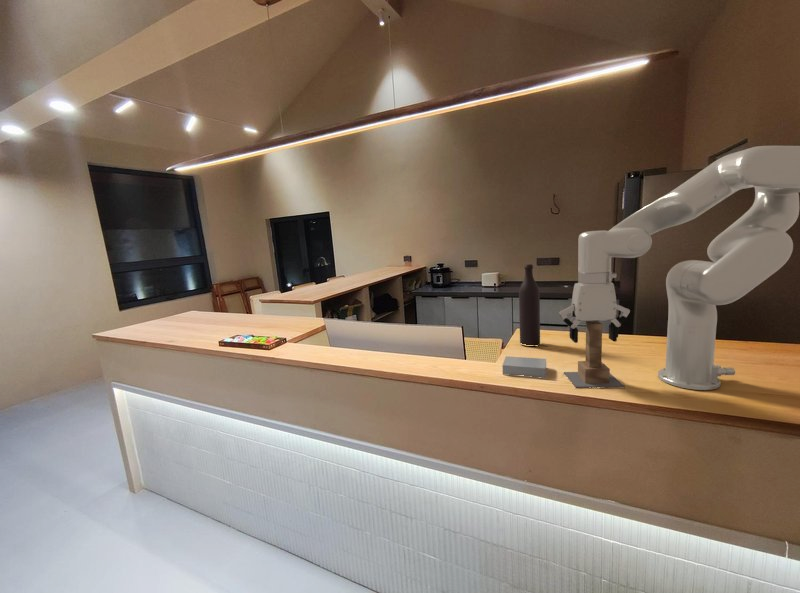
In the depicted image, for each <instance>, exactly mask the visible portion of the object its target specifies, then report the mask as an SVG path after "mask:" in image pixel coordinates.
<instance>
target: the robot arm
mask: <svg viewBox="0 0 800 593" xmlns="http://www.w3.org/2000/svg"><path fill="white" fill-rule="evenodd" d="M751 188H754V192H755V193H754V194H755V195H754V201H753V203H752V205H751V207H749V209H748V210H747V211H746V212H744V214H742V215H741V216H740V217H739V218H737V220H736V221H734V222H733V223H732V224H730V225H729V226H728V227H727V228H726V229H724V230H723V231H722V232H720V233H719V234H718V235H717V236H716V237H714V239H712V240H711V242H710V243H709V245H708V246H707V249H706V250H707V251H706V253H707V256H708V258H709V259H710V261H705V260H696V259H691V260H690V259H689V260H684V261H680V262H678V263H677V264H675V265H674V266H672V267H671V268H670V270H669V271H668V272H667V276H666V278H665V287H666V295H667V300H668V313H667V314H668V315H667V316H668V317H667V318H668V320H667V331H666V332H667V335H666V353H665V368H661V369H659V370H657V371H658V372H657V375H658V376H657V377H658V378H659V379H660V380H661V381H662V382H664V383H667V384H669V385H671V386H675V387H678V388H683V389H687V390H698V391H712V390H716V389H718V388H720V387H721V380H720V378H719V377H721V376H735V375H736V369H735V368H734V367H722V366H721V365H720V364H714V362H715V352H716V351H715V348H716V337H717V336H716V335H717V325H718V324H717V323H718V311H717V309H718V308H717V306H723V305H728V304H732V303H734V302H736V301H737V300H739V299H741V298H742V297H744V296H746V295H747V294H748V293H749V292H751V291H753V290H754V288H756V287H758V286H759V285H760V284H761V283H763V282H765V280H768V278H769V277H771V276H772V275H774V274H775V273H776V272H778V271H779V270H780V269H781V268H782V267H783V266H784V265H785V264H786V263H787V262H788V261H789V259H790V258H791V256H792V253H793V250H794V243H793V242H794V241H793V240H792V237H791V236H790V235H789V234H788V233H787V231H788V230H789V229H791V227H792V226H794V224H795V223H796V222H797V220H798V218H799V215H800V195H799V193H800V145H761V146H758V145H757V146H752V147H749V148H746V149H743V150H739V151H736V152H731V153H729V154H727V155H724V156H722V157H720V158H718V159H716V160H715V161H713V162H712V163H710V164H709V165H707V166H706V167H704V168H703V169H702V170H700V171H699V172H697V173H696V174H694V175H693V176H691V177H690V178H689V179H687V180H686V181H685V182H682V183H681V184H680V185H679V186H677V187H676V188H674V189H672V190H671V191H669V192H668V193H667V194H664V195H663V196H661V197H659V198H657V199H656V200H654V201H653V202H651V203H650V204H648V205H645V206H644V207H643V208H641V209H639V210H637V211H635V212H634V213H632V214H631V215H629V216H627V217H626V218H624V219H623V220H622V221H620V222H619V223H617V224H616V225H614V226H612V227H611V228H610V229H609V230H589V231H584V232H582V233H580V234H579V235H578V241H577V242H578V244H577V245H578V246H577V247H578V249H577V250H578V252H577V256H578V257H577V258H578V259H577V261H578V262H577V264H578V265H577V266H578V267H577V268H578V272H577V275H578V278H577V280H578V281H577V282H575V283H574V285H573V291H572V297H571V298H572V299H571V305H569V306H568V307H566V308H564V309H561V310H560V311H559V312H558V313H559V316H560V318H561V319H562V321H563V322H564V323H565V325H567V326H568V327H569V338H570V340H571V341H572V342H573V343H575V344H576V343H578V342H579V330H578V329H579V328H577V327H578V325H580V323H581V322H586V321H598V322H603V321H605V322H606V321H608V322H609V323H610V324H609V325H608V339H609V340H611V341H612V342H617V341H618V338H619V327H621V326H622V324H623V323H624V322H625V321H626V320H627V318H628V316H629V314H630V312H631V310H630V309H629V308H626V307H624V306H622V305H620V304H617V296H616V295H617V294H616V289H615V284H614V283H613V282H612V281H613V280H612V279H616V278H617V273H616V272H613V271H612V258H622V259H623V258H624V259H626V258H627V259H635V258H638V257H641V256H643V255H646V253H648V251H649V250H650V249H651V247H652V243H653V240H652V236H651V235H654V234H655V233H658V232H660V231H663V230H666V229H668V228H672V227H675V226H679V225H682V224H685V223H687V222H690V221H693V220H694V219H697V218H698V217H700V216H702V214H704V213H705V212H707V211H709V210H710V209H711V208H713V207H715V206H716V205H717V204H719V203H721V202H723V201H724V200H726V199H727V198H729V197H730V196H731V195H733V194H735V193H736V192H738V191H740V190H743V189H751ZM618 311H620V314H619V315H618V316H617V312H618ZM569 314H570V315H571V317H572V318H571V319H569V318H568V315H569Z"/></svg>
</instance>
